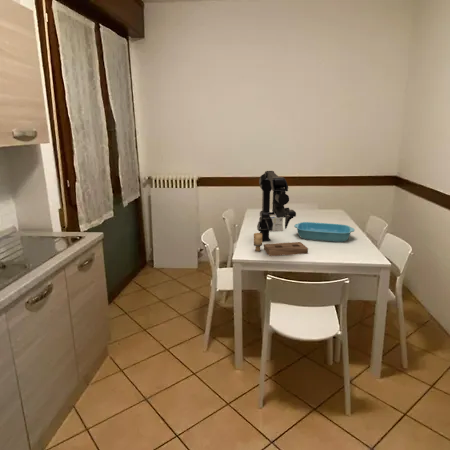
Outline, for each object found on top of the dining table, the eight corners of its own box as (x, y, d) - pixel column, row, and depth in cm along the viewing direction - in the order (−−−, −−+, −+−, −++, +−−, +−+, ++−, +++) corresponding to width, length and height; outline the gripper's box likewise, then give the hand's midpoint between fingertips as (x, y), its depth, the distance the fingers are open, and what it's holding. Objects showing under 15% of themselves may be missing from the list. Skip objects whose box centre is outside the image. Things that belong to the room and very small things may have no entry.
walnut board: (263, 249, 212) (263, 244, 211) (300, 246, 215) (300, 241, 214) (269, 256, 200) (269, 250, 200) (307, 253, 203) (308, 248, 203)
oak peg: (252, 249, 211) (253, 233, 209) (261, 249, 212) (261, 232, 209) (254, 252, 207) (254, 235, 204) (263, 251, 207) (263, 234, 205)
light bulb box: (281, 228, 254) (281, 213, 251) (282, 231, 247) (283, 215, 245) (265, 229, 254) (266, 213, 251) (267, 231, 247) (267, 216, 244)
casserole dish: (353, 234, 238) (353, 223, 236) (354, 244, 218) (355, 233, 216) (295, 230, 249) (296, 220, 247) (292, 240, 228) (292, 229, 226)
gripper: (264, 204, 186) (263, 234, 190) (299, 203, 188) (298, 232, 192) (259, 200, 197) (259, 228, 201) (293, 199, 199) (292, 226, 203)
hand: (277, 229), depth 199 cm, fingers open, 9 cm apart
